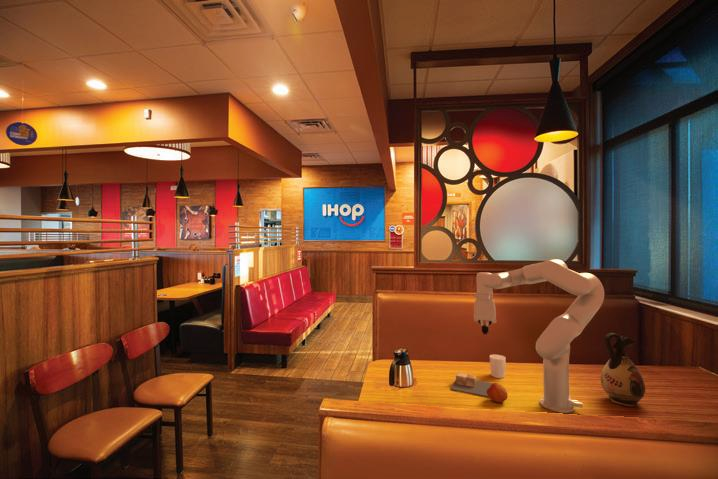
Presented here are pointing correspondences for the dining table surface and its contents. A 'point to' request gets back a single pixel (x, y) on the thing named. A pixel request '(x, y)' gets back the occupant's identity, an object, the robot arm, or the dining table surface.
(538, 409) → the dining table surface
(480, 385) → the rubber mat
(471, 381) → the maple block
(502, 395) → the fruit
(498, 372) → the white cup
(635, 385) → the ceramic jug
